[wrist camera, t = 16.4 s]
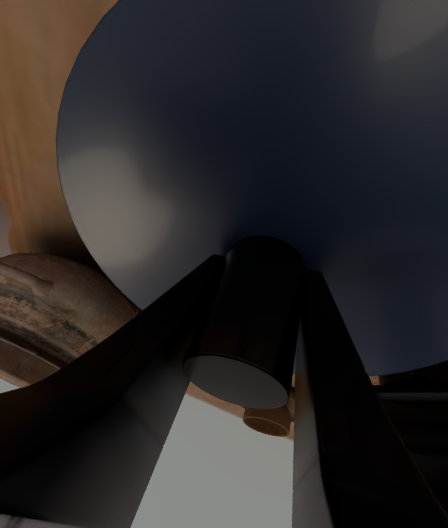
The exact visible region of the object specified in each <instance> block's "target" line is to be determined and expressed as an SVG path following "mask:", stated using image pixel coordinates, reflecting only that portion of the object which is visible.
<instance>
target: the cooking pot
mask: <svg viewBox="0 0 448 528" xmlns="http://www.w3.org/2000/svg"><path fill="white" fill-rule="evenodd" d="M135 316H136V314H135V312H134V311H133V309H132V307H131V305H130V304H129V302H128V301H127V300H126V298H125V297H124V296H123V294H122V293H121V292H120V291H119V290H118V289H117V288H116V286H115V285H114V283H113V282H112V281H111V280H110V279H109V278H108V277H107V276H106V275H105V274H103V273H102V272H100V271H99V270H97V269H95V268H93V267H91V266H88V265H85V264H80V263H78V262H75V261H72V260H68V259H65V258H61V257H58V256H54V255H48V254H41V253H18V254H12V255H8V256H5V257H2V258H0V378H1V379H3V380H5V381H7V382H9V383H11V384H13V385H16V386H18V387H20V388H22V387H26V386H29V385H31V384H34V383H36V382H38V381H41V380H43V379H44V378H46V377H48V376H50V375H52V374H53V373H55V372H56V371H58V370H59V369H61V368H62V367H64V366H65V365H67V364H68V363H70V362H72V361H73V360H75V359H76V358H78V357H79V356H81V355H82V354H84V353H85V352H87V351H88V350H90V349H91V348H93V347H94V346H96V345H97V344H99V343H100V342H101V341H103V340H104V339H106V338H107V337H109V336H110V335H111V334H113V333H114V332H115V331H117V330H118V329H119V328H121V327H122V326H123V325H125V324H126V323H127V322H128V321H130V320H131V319H132V318H135Z"/></svg>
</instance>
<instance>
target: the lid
mask: <svg viewBox="0 0 448 528" xmlns="http://www.w3.org/2000/svg"><path fill="white" fill-rule="evenodd" d="M56 151H57V167H58V173H59V178H60V183H61V188H62V193H63V196H64V199H65V202H66V205H67V208H68V211H69V214H70V216H71V218H72V220H73V223H74V225H75V227H76V229H77V231H78V234H79V236H80V237H81V239H82V241H83V242H84V244H85V246H86V247H87V249H88V251H89V252H90V254H91V255H92V257H93V258H94V260H95V261H96V262H97V264H98V265H99V266H100V268H101V269H102V270H103V272H104V273H105V274H106V275H107V276H108V277H109V279H110V280H111V281H112V282H113V283H114V284H115V286H117V287H118V288H119V289H120V290H121V291H122V292H123V293H124V294H125V295H126V296H127V297H128V298H129V299H130V300H131V301H132V302H133V303H134V304H136V305H137V306H138V307H139V308H140V309H141V310H144V309H145V308H146V307H147V306H149V305H150V304H151V303H152V302H154V301H155V300H156V299H157V298H159V297H160V296H161V295H162V294H164V293H165V292H166V291H167V290H169V289H170V288H171V287H172V286H174V285H175V284H176V283H177V282H179V281H180V280H181V279H182V278H184V277H185V276H186V275H187V274H189V273H190V272H191V271H192V270H194V269H195V268H196V267H197V266H199V265H200V264H201V263H202V262H204V261H205V260H206V259H208V258H209V257H210V256H211V255H213V254H217V255H223V256H225V258H226V259H225V261H224V263H223V266H222V268H221V271H220V273H219V275H218V278H217V280H216V283H215V285H214V287H213V290H212V292H211V295H210V297H209V299H208V302H207V304H206V307H205V309H204V312H203V314H202V316H201V319H200V321H199V324H198V326H197V328H196V331H195V333H194V336H193V338H192V340H191V343H190V345H189V348H188V350H187V352H186V355H185V357H184V360H183V362H182V369H183V372H184V374H185V375H186V377H187V378H188V379H189V380H190V381H191V382H192V383H193V384H195V385H196V386H197V387H199V388H200V389H202V390H203V391H205V392H207V393H209V394H211V395H212V396H215V397H217V398H219V399H222V400H224V401H227V402H230V403H233V404H236V405H240V406H245V407H250V408H258V409H271V408H277V407H280V406H283V405H284V404H286V403H287V402H288V400H289V398H290V391H291V384H292V376H293V374H295V363H296V346H297V339H298V331H299V324H300V316H301V309H302V301H303V294H304V286H305V279H306V274H307V271H308V270H315V271H320V272H322V274H323V276H324V278H325V280H326V283H327V285H328V287H329V289H330V292H331V294H332V296H333V298H334V300H335V303H336V305H337V307H338V309H339V312H340V314H341V316H342V318H343V320H344V323H345V325H346V327H347V329H348V332H349V334H350V336H351V338H352V340H353V343H354V345H355V347H356V349H357V352H358V354H359V356H360V358H361V361H362V363H363V365H364V367H365V372H367V374H368V376H378V375H387V374H393V373H399V372H405V371H410V370H414V369H418V368H423V367H427V366H431V365H434V364H437V363H440V362H443V361H446V360H448V0H119V1H118V2H117V3H116V4H115V5H114V6H113V7H112V8H111V9H110V10H109V11H108V12H107V13H106V14H105V15H104V16H103V17H102V19H101V20H100V22H99V23H98V24H97V26H96V27H95V29H94V30H93V32H92V33H91V35H90V36H89V38H88V39H87V41H86V42H85V44H84V45H83V47H82V48H81V50H80V52H79V54H78V56H77V59H76V61H75V63H74V65H73V68H72V70H71V72H70V75H69V77H68V79H67V81H66V84H65V88H64V92H63V96H62V100H61V104H60V108H59V112H58V123H57V135H56Z"/></svg>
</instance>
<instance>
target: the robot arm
mask: <svg viewBox="0 0 448 528" xmlns="http://www.w3.org/2000/svg"><path fill="white" fill-rule="evenodd" d="M225 259H226V258H225V256H223V255H217V254H213V255H211V256H210V257H209V258H208V259H206V260H205V261H204V262H202V263H201V264H200V265H199V266H197V267H196V268H195V269H194V270H192V271H191V272H190V273H189V274H187V275H186V276H185V277H184V278H182V279H181V280H180V281H179V282H177V283H176V284H175V285H174V286H172V287H171V288H170V289H169V290H167V291H166V292H165V293H164V294H162V295H161V296H160V297H159V298H157V299H156V300H155V301H154V302H152V303H151V304H150V305H149V306H147V307H146V308H145V309H144V310H142V311H141V312H140V313H139V314H137V315H136V316H135V318H132V319H131V320H130V321H128V322H127V323H126V324H125V325H123V326H122V327H121V328H119V329H118V330H117V331H115V332H114V333H113V334H111V335H110V336H109V337H107V338H106V339H104V340H103V341H101V342H100V343H99V344H97V345H96V346H94V347H93V348H91V349H90V350H88V351H87V352H85V353H84V354H82V355H81V356H79V357H78V358H76V359H75V360H73V361H72V362H70V363H68V364H67V365H65V366H64V367H62V368H61V369H59V370H58V371H56V372H55V373H53V374H52V375H50V376H48V377H46V378H44V379H43V380H41V381H38V382H36V383H34V384H31V385H29V386H26V387H22V388H19V389H15V390H11V391H8V392H4V393H0V528H130V527H131V524H132V522H133V520H134V517H135V515H136V512H137V510H138V507H139V505H140V502H141V500H142V498H143V495H144V493H145V490H146V487H147V485H148V483H149V480H150V477H151V476H152V473H153V471H154V468H155V466H156V463H157V461H158V458H159V456H160V454H161V451H162V448H163V445H164V443H165V441H166V439H167V436H168V434H169V431H170V429H171V426H172V424H173V421H174V419H175V417H176V414H177V412H178V409H179V407H180V404H181V402H182V400H183V397H184V395H185V392H186V390H187V387H188V385H189V382H190V380H189V379H188V378H187V377H186V375H185V374H184V372H183V369H182V362H183V360H184V357H185V355H186V352H187V350H188V348H189V345H190V343H191V340H192V338H193V336H194V333H195V331H196V328H197V326H198V324H199V321H200V319H201V316H202V314H203V312H204V309H205V307H206V304H207V302H208V299H209V297H210V295H211V292H212V290H213V287H214V285H215V283H216V280H217V278H218V275H219V273H220V271H221V268H222V266H223V263H224V261H225ZM292 510H293V511H292V528H448V360H446V361H443V362H440V363H437V364H434V365H431V366H427V367H423V368H418V369H414V370H410V371H405V372H399V373H393V374H387V375H379V385H372V382H371V380H370V378H369V376H368V374H367V372H365V367H364V365H363V363H362V361H361V358H360V356H359V354H358V352H357V349H356V347H355V345H354V343H353V340H352V338H351V336H350V334H349V332H348V329H347V327H346V325H345V323H344V320H343V318H342V316H341V314H340V312H339V309H338V307H337V305H336V303H335V300H334V298H333V296H332V294H331V292H330V289H329V287H328V285H327V283H326V280H325V278H324V276H323V274H322V272H320V271H315V270H308V271H307V274H306V279H305V286H304V294H303V301H302V309H301V316H300V324H299V331H298V339H297V346H296V363H295V412H294V461H293V508H292Z"/></svg>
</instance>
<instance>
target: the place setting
mask: <svg viewBox="0 0 448 528" xmlns="http://www.w3.org/2000/svg"><path fill="white" fill-rule="evenodd" d="M241 407H243V408H244V409H245V412H244V417H243V422H244V423H245V424H246V425H247V426H248V427H250V428H252V429H254V430H256V431H258V432H261V433H264V434H268V435H272V436H279V437H283V436H287V435H289V432H290V424H291V422H294V412H295V392H294V391H293V390H291V391H290V398H289V400H288V402H287V403H286V404H284V405H283V406H280V407H277V408H271V409H258V408H250V407H245V406H241Z"/></svg>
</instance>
